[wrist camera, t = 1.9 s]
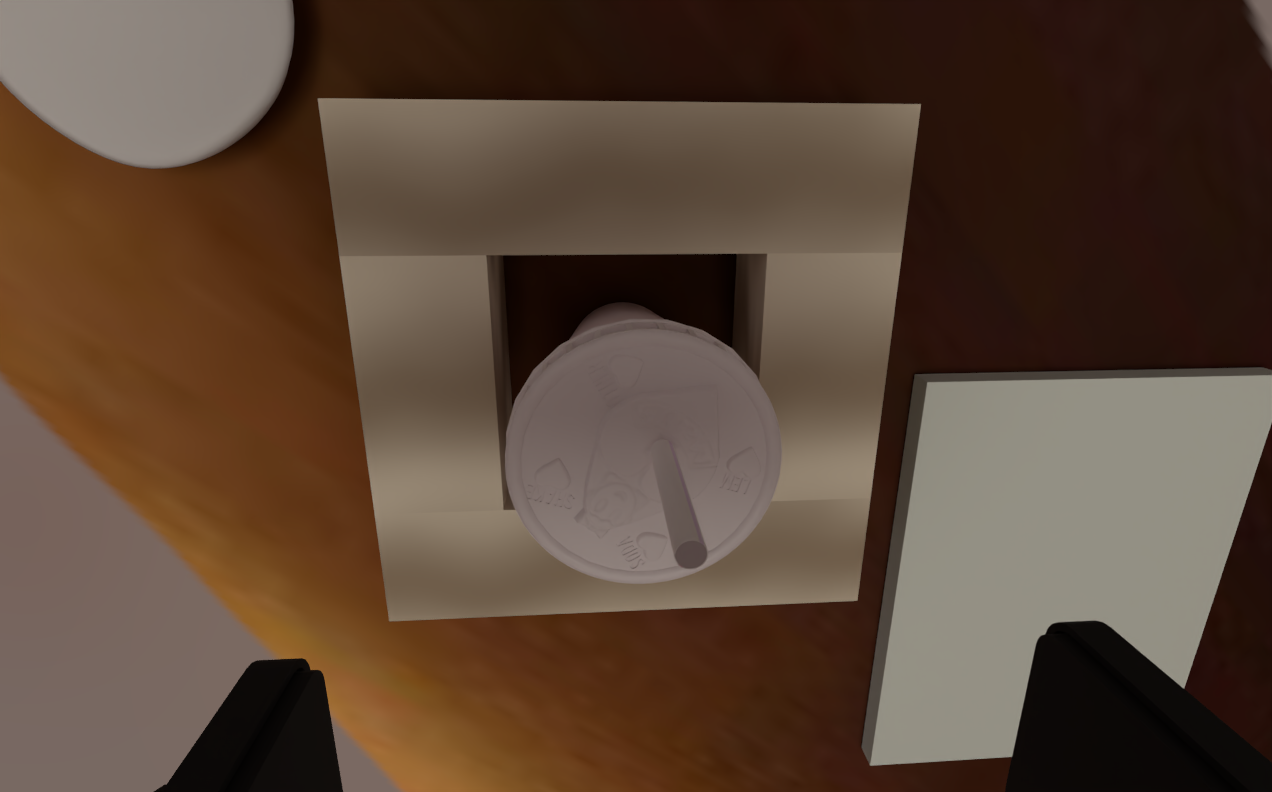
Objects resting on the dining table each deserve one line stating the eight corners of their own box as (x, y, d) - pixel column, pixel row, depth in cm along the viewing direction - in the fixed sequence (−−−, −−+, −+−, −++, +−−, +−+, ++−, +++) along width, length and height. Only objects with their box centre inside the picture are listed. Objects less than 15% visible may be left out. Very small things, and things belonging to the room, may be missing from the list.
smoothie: (746, 340, 25) (937, 546, 11) (632, 467, 26) (685, 785, 13) (609, 223, 23) (646, 306, 10) (495, 366, 24) (389, 611, 11)
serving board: (914, 374, 25) (927, 382, 24) (1261, 367, 26) (1287, 374, 25) (861, 747, 31) (870, 765, 30) (1147, 730, 32) (1164, 747, 31)
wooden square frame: (364, 109, 21) (317, 98, 17) (863, 114, 22) (920, 104, 19) (417, 555, 26) (389, 621, 23) (819, 540, 27) (857, 600, 24)
